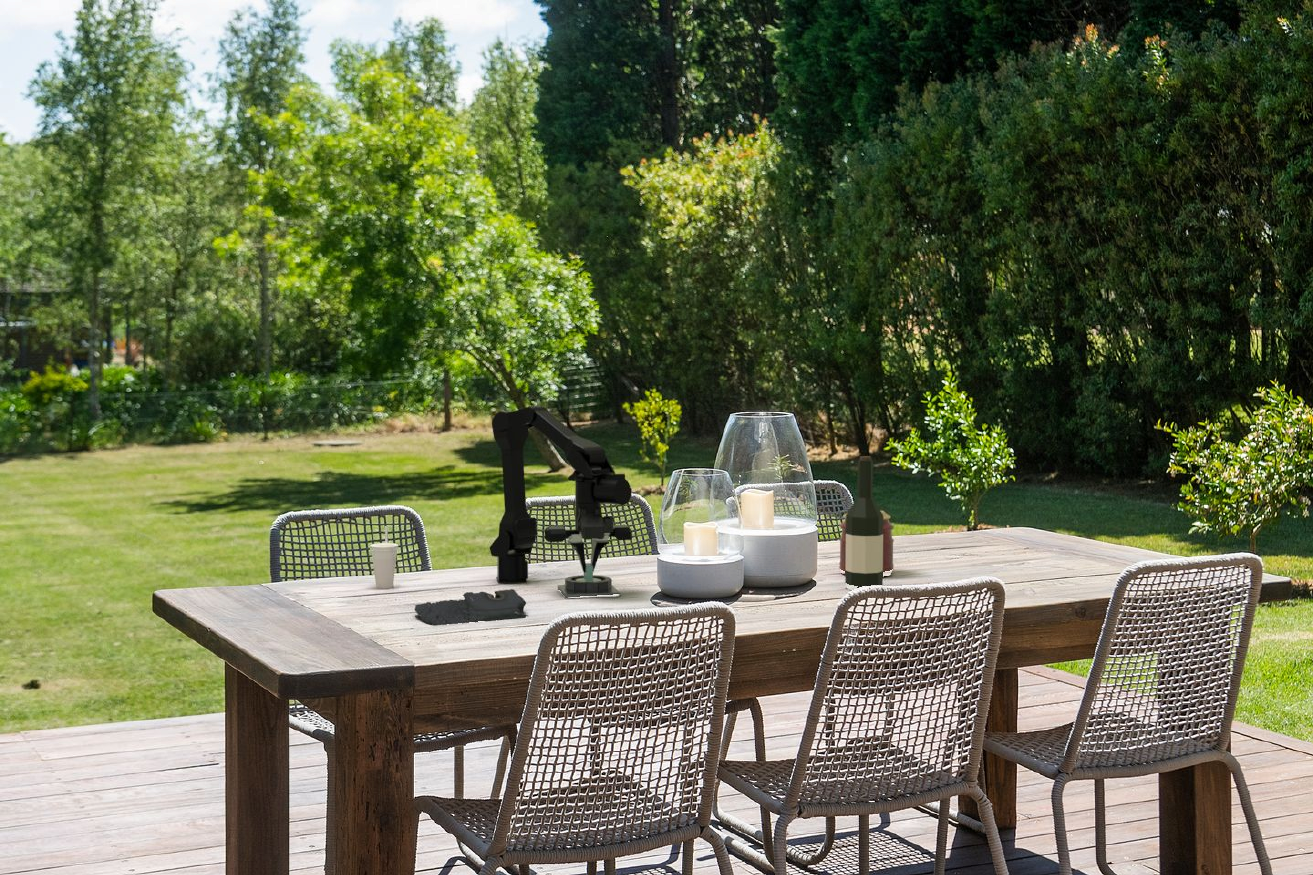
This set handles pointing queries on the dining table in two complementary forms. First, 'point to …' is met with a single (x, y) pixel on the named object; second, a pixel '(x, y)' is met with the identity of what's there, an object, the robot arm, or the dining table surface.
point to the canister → (886, 544)
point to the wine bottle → (864, 532)
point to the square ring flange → (587, 587)
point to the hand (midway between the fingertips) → (588, 572)
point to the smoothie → (384, 562)
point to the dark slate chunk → (474, 608)
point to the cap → (588, 575)
